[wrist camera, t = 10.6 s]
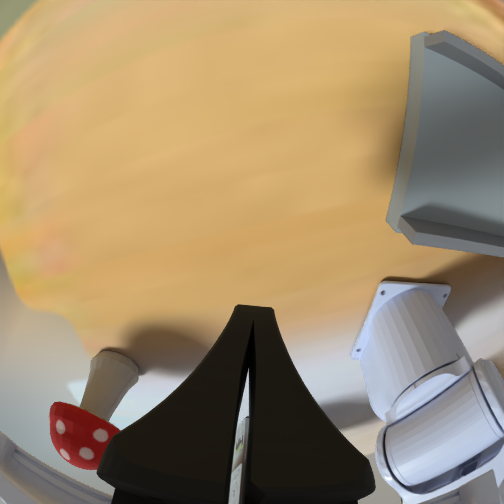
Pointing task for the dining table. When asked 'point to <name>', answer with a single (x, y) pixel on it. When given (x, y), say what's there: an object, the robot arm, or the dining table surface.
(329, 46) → the dining table surface
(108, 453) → the robot arm
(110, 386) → the decorative mushroom
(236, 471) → the coffee box
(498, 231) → the plate
